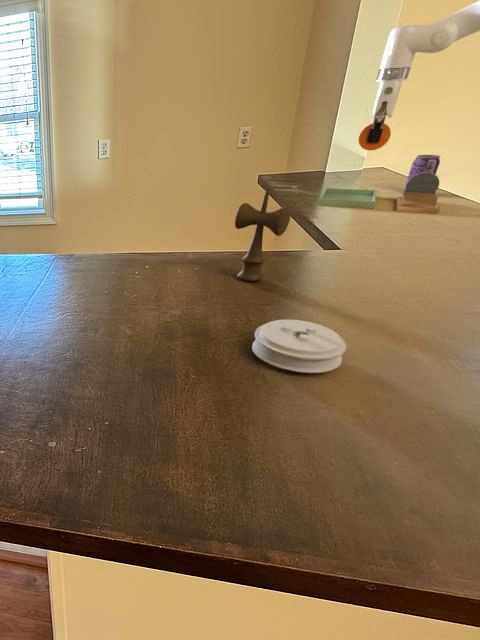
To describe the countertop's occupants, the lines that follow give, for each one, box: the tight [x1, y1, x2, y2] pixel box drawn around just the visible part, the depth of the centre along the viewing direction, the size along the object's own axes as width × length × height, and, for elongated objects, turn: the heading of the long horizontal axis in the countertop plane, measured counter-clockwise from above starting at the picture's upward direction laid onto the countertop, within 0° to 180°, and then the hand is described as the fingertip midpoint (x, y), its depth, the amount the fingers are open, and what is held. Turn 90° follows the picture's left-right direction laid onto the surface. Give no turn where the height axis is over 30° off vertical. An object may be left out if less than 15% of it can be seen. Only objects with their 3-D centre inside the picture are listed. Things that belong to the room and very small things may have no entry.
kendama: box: [234, 187, 292, 282], centre depth 103 cm, size 6×10×20 cm, turn 43°
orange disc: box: [358, 122, 392, 151], centre depth 151 cm, size 1×8×8 cm, turn 55°
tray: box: [317, 187, 378, 209], centre depth 162 cm, size 19×15×2 cm
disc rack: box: [395, 191, 440, 214], centre depth 150 cm, size 16×10×4 cm, turn 145°
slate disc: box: [405, 172, 440, 193], centre depth 151 cm, size 1×8×8 cm, turn 55°
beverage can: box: [403, 154, 441, 192], centre depth 163 cm, size 7×7×12 cm
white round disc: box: [251, 319, 347, 374], centre depth 77 cm, size 13×13×5 cm
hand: (372, 142), depth 152 cm, fingers closed on orange disc, 1 cm apart
